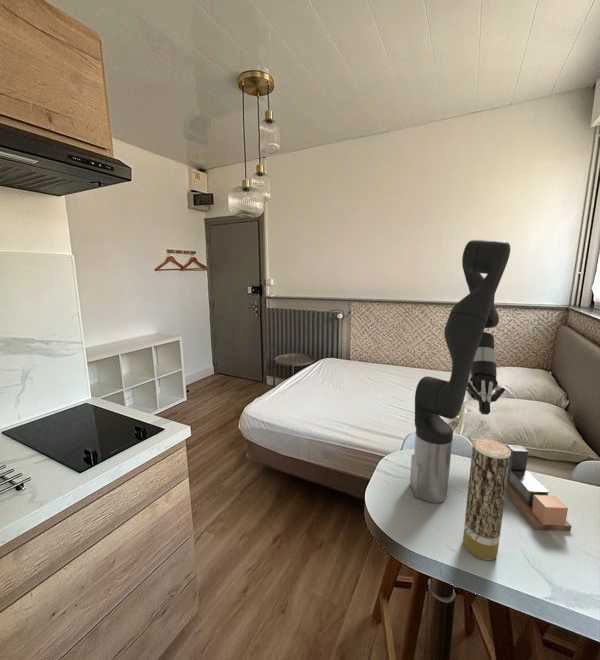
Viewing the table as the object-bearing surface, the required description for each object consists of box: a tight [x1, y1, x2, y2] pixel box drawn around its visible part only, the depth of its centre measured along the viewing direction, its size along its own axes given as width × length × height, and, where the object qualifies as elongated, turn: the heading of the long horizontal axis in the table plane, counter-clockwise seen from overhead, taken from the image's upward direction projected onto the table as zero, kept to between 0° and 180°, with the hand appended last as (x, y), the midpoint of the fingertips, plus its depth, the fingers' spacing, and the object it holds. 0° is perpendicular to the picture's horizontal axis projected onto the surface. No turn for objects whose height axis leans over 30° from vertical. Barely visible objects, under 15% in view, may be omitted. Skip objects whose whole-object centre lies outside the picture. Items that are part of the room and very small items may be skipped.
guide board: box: [505, 481, 573, 532], centre depth 84 cm, size 8×20×2 cm, turn 176°
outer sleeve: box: [509, 471, 549, 506], centre depth 83 cm, size 5×8×4 cm, turn 176°
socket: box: [532, 495, 569, 526], centre depth 75 cm, size 5×4×5 cm
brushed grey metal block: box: [506, 444, 546, 505], centre depth 82 cm, size 4×16×10 cm, turn 176°
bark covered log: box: [462, 438, 511, 561], centre depth 67 cm, size 7×7×25 cm
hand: (484, 414), depth 100 cm, fingers closed
